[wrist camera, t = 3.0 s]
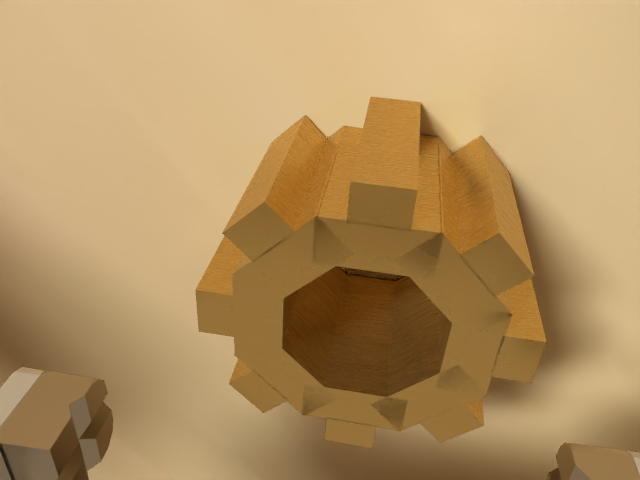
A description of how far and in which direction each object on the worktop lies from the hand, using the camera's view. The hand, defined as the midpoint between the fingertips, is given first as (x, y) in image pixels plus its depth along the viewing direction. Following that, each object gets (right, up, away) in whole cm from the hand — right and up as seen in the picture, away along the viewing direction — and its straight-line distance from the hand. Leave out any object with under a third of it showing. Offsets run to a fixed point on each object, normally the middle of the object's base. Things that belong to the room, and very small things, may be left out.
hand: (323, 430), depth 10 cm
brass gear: (+1, +4, +4) cm, 6 cm away
